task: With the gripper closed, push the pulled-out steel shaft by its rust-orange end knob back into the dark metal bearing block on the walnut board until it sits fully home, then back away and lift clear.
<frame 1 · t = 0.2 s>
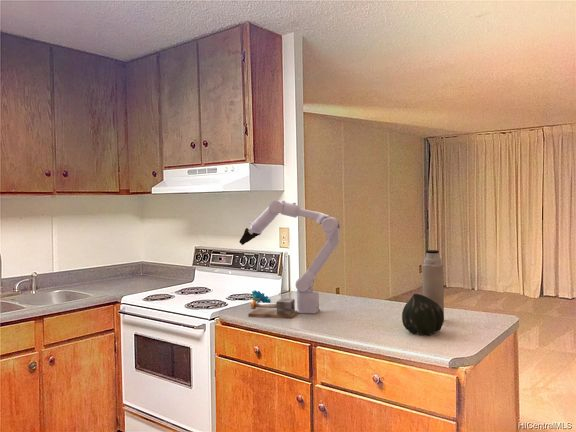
hand: (243, 242, 215), 31 cm above the worktop, tool tilted 45°, fingers open, 7 cm apart
bearing stand: (272, 314, 204), on the worktop
squash: (423, 333, 172), on the worktop
shaft: (266, 305, 204), point 4 cm above the worktop, slide at 5.0 cm
thermos bottle: (433, 320, 188), on the worktop
gear: (260, 305, 224), on the worktop
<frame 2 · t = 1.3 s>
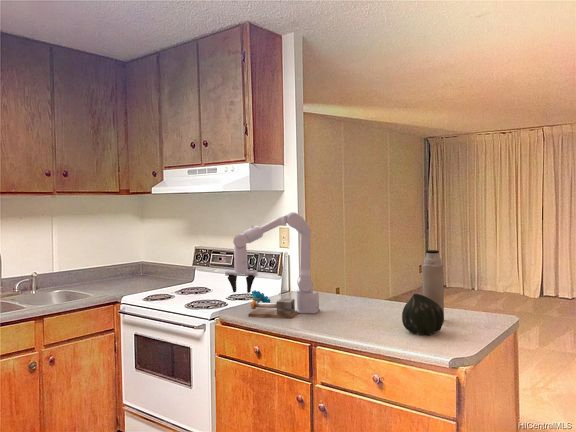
hand: (241, 292, 207), 9 cm above the worktop, tool pointing down, fingers open, 6 cm apart
nothing on the worktop moved.
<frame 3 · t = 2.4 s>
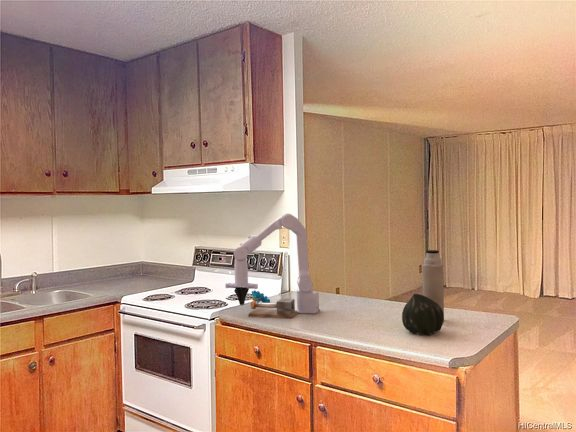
hand: (242, 304, 208), 4 cm above the worktop, tool pointing down, fingers closed
nothing on the worktop moved.
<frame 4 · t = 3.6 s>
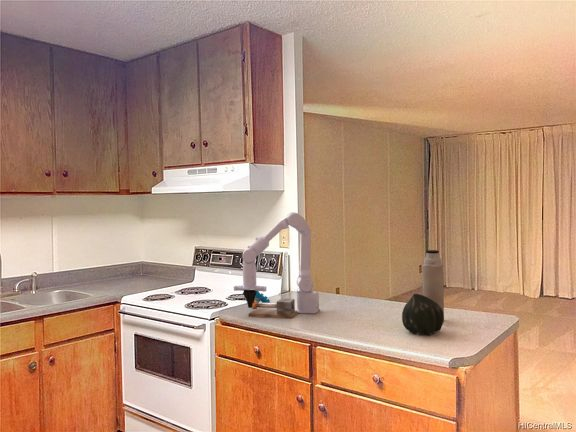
hand: (250, 307, 207), 3 cm above the worktop, tool pointing down, fingers closed
shaft: (268, 305, 204), point 4 cm above the worktop, slide at 4.4 cm, touching gripper
everything else where it was.
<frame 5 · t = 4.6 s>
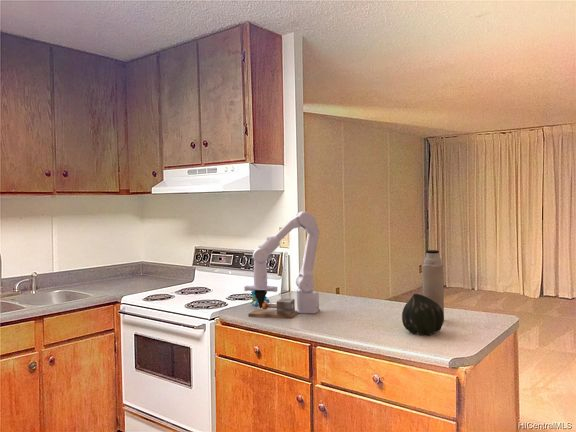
hand: (261, 307, 205), 3 cm above the worktop, tool pointing down, fingers closed
shaft: (278, 305, 203), point 4 cm above the worktop, slide at -0.1 cm, touching gripper
everything else where it was.
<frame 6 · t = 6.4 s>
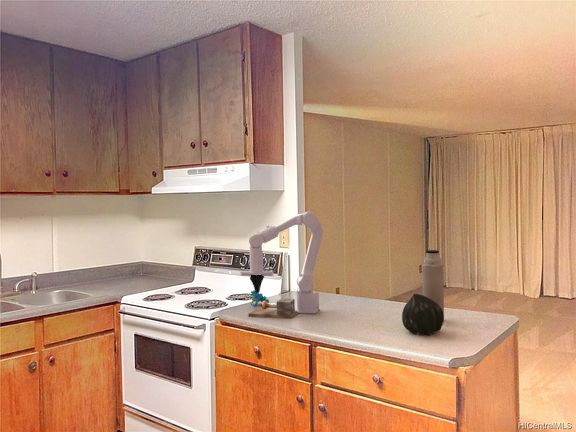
hand: (257, 292, 207), 9 cm above the worktop, tool pointing down, fingers closed
shaft: (277, 305, 203), point 4 cm above the worktop, slide at 0.0 cm
everything else where it was.
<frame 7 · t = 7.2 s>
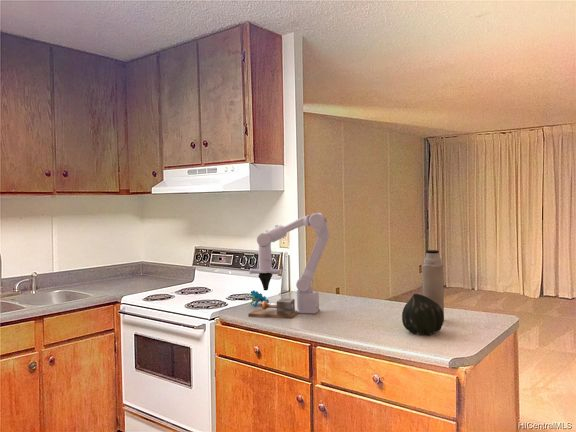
hand: (265, 290, 211), 9 cm above the worktop, tool pointing down, fingers closed
nothing on the worktop moved.
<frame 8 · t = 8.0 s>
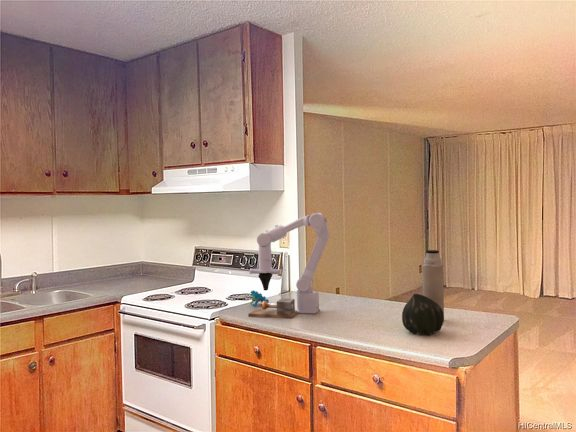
hand: (265, 290, 211), 9 cm above the worktop, tool pointing down, fingers closed
nothing on the worktop moved.
at the end: shaft slide at 0.0 cm; gear moved 0.9 cm from its start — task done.
